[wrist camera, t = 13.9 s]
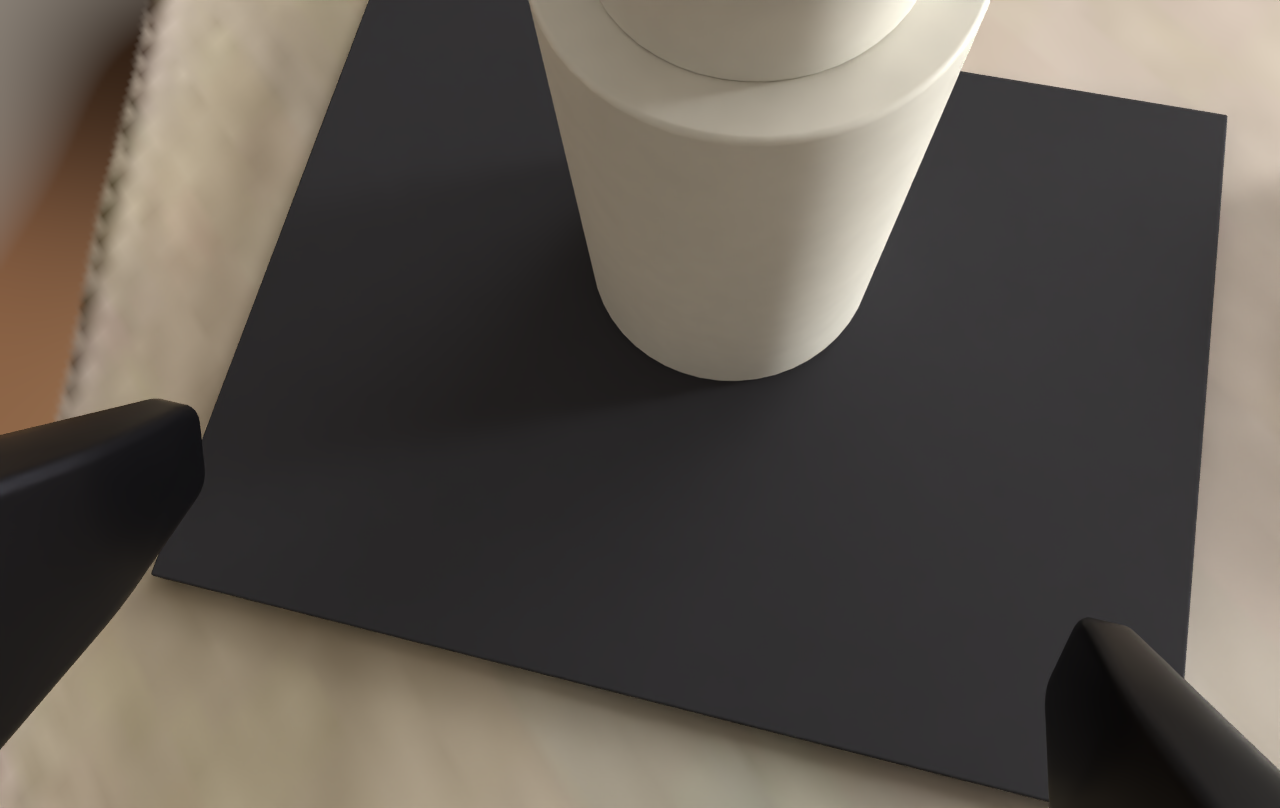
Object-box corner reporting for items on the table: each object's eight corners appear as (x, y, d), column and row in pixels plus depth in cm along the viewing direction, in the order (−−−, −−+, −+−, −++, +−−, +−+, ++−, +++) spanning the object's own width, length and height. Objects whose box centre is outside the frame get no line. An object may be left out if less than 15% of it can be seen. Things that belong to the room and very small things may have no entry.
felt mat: (1163, 830, 17) (1173, 833, 17) (160, 577, 19) (149, 574, 19) (1219, 124, 21) (1228, 114, 21) (382, -15, 24) (378, -26, 23)
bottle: (843, 409, 19) (1085, -43, 7) (561, 349, 20) (367, -153, 8) (891, 157, 21) (1155, -550, 9) (629, 109, 22) (551, -605, 10)
